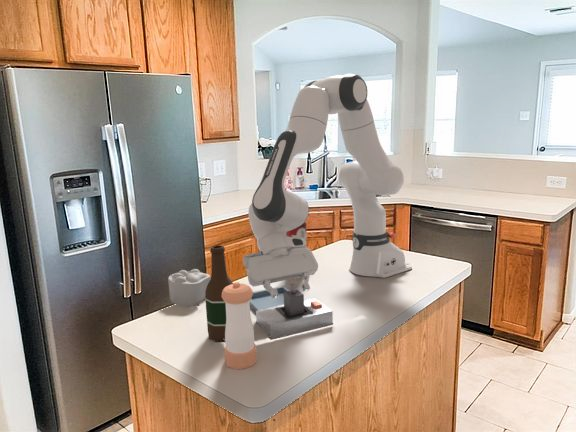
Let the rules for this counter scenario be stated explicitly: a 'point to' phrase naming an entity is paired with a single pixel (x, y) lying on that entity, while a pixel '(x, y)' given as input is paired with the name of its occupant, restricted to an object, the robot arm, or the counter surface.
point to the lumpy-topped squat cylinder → (188, 287)
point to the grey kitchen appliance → (294, 319)
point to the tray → (267, 299)
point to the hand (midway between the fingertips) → (291, 293)
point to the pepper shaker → (239, 327)
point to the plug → (293, 301)
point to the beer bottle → (217, 295)
